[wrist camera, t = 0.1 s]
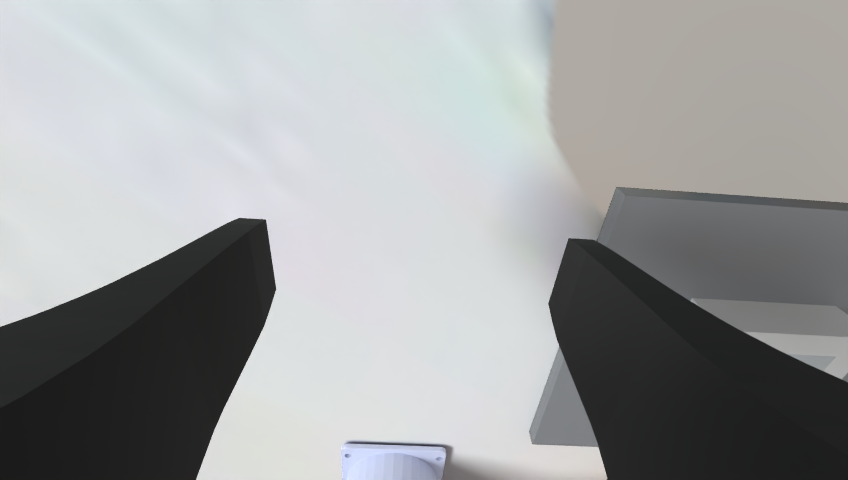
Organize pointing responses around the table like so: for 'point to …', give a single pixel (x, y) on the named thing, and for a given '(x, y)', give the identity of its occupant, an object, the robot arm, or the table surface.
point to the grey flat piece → (726, 279)
